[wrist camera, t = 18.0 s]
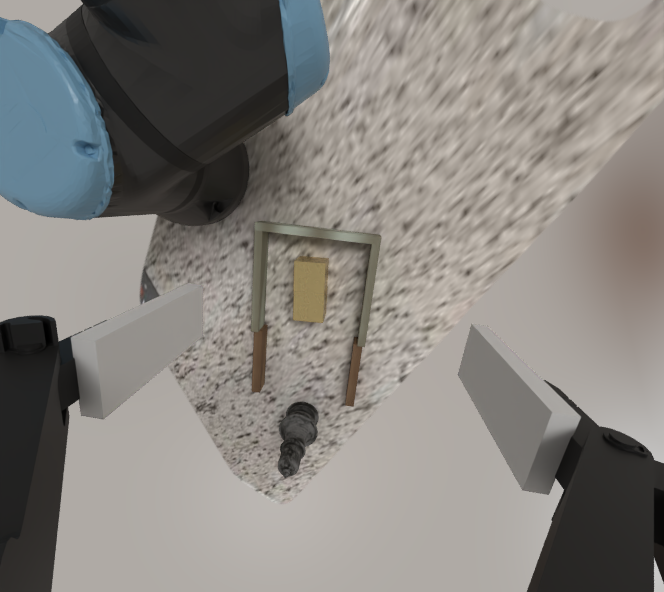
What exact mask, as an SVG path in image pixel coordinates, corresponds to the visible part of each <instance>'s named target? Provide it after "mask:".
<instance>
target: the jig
mask: <svg viewBox="0 0 664 592" xmlns="http://www.w3.org/2000/svg"><path fill="white" fill-rule="evenodd" d="M269 232H273V233H282V234H290V235H298V236H307V237H315V238H324V239H332V240H340V241H349V242H357V243H365V244H371V248H370V255H369V262H368V269H367V276H366V283H365V290H364V297H363V304H362V311H361V318H360V325H359V332H358V337H354V343H353V350H352V357H351V364H350V372H349V379H348V386H347V393H346V404H345V405H346V406H354V399H355V393H356V386H357V379H358V372H359V366H360V359H361V352H362V347H365V342H366V335H367V329H368V322H369V316H370V309H371V302H372V296H373V289H374V283H375V276H376V269H377V263H378V256H379V250H380V243H381V236H380V235H377V234H368V233H360V232H351V231H343V230H334V229H326V228H317V227H309V226H300V225H292V224H283V223H275V222H266V221H259V222H255V233H254V261H253V288H252V316H251V331H252V332H254V348H253V373H252V392H259V393H260V391H261V389H262V387H263V385H264V383H265V364H266V345H267V325H264V319H265V299H266V279H267V258H268V238H269Z"/></svg>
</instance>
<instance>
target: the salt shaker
mask: <svg viewBox="0 0 664 592" xmlns="http://www.w3.org/2000/svg"><path fill="white" fill-rule="evenodd" d="M318 418H319V416H318V412H317V410H316V409H315V408H314V407H313V406H312V405H311V404H308V403H306V402H297V403H294V404H292V405H291V406H290V407H289V408H288V410H287V412H286V417H285V418H284V419H283V420H282V421H281V423H280V426H279V432H280V435H281V437H282V439H283V440H284V442H283V443H282V444H281V447H280V451H281V456H280V459H279V462H278V469H279V471H280V473H281V474H282V475H283V476H284V477H285V478H286V477H288V476H293V475H294V474H296V473H297V471H298V469H299V465H300V461H301V459H302V458H303V457H304V455H305V451H306V450H305V447H306V446H309V445H310V444H312V443H313V442H314V441H315V440H316V437H317V433H318V431H317V427H316V424H317V422H318Z"/></svg>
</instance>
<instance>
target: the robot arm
mask: <svg viewBox="0 0 664 592" xmlns="http://www.w3.org/2000/svg"><path fill="white" fill-rule="evenodd" d="M81 1H82V2H83V5H81V6H80V7H79V8H78V9H77V10H76V11H75V12H73V13H72V14H71V15H70V16H69V17H68V18H67V19H65V20H64V21H63V22H62V23H61V24H60V25H58V26H57V27H56V28H55V29H54V30H53V31H51V32H50V33H46V32H44V31H43V30H41V29H39V28H38V27H36V26H34V25H32V24H30V23H28V22H25V21H21V20H7V19H4V18H1V17H0V195H1V196H2V197H4V198H5V199H7V200H8V201H9V202H11V203H13V204H14V205H16V206H18V207H20V208H22V209H24V210H28V211H30V212H33V213H35V214H37V215H42V216H47V217H54V218H56V217H57V218H69V219H76V220H87V219H89V220H90V219H92V218H99V217H114V216H130V215H146V214H156V215H159V216H161V217H163V218H165V219H167V220H169V221H171V222H174V223H177V224H181V225H188V226H198V225H206V224H211V223H215V222H218V221H220V220H222V219H224V218H225V217H227V216H228V215H229V214H231V213H232V212H233V211H234V210H235V209H236V207H237V206H238V205H239V203H240V202H241V200H242V198H243V196H244V194H245V191H246V188H247V184H248V178H249V162H248V156H247V152H246V148H245V145H244V143H243V142H244V141H245V140H247V139H248V138H250V137H252V136H253V135H255V134H256V133H258V132H259V131H261V130H262V129H264V128H265V127H267V126H268V125H270V124H271V123H273V122H275V121H276V120H278V119H279V118H281V117H282V116H284V115H285V116H289V115H290V114H291V113H292V112H293V110H294V108H295V107H297V106H298V105H299V104H301V103H302V102H303V101H305V100H306V99H308V98H309V97H310V96H312V95H313V94H314V93H316V92H317V91H318V90H320V88H321V87H322V86H323V85H324V83H325V81H326V79H327V76H328V73H329V64H330V52H329V43H328V36H327V31H326V26H325V21H324V16H323V11H322V7H321V3H320V0H81ZM202 336H203V285H199V284H192V283H187V284H185V285H183V286H181V287H178V288H176V289H174V290H172V291H170V292H168V293H165V294H163V295H161V296H159V297H157V298H155V299H152V300H150V301H148V302H146V303H144V304H141V305H139V306H137V307H135V308H133V309H131V310H128V311H126V312H124V313H122V314H120V315H118V316H115V317H113V318H111V319H109V320H105V321H103V322H101V323H99V324H97V325H95V326H94V327H90V328H88V329H86V330H84V331H81V332H79V333H77V334H75V335H73V336H70V337H68V338H66V339H64V340H62V341H58V334H57V328H56V321H55V319H54V318H52V317H49V316H24V317H17V318H13V319H8V320H5V321H3V322H0V592H51V589H52V579H53V569H54V560H55V550H56V541H57V530H58V521H59V511H60V502H61V492H62V482H63V472H64V464H65V454H66V445H67V435H68V425H69V411H68V406H70V405H71V404H73V403H74V402H76V401H77V400H79V404H80V412H81V416H87V417H93V418H99V419H105V418H106V417H107V416H108V415H109V414H111V413H112V412H113V411H114V410H115V409H116V408H118V407H119V406H120V405H121V404H122V403H124V402H125V401H126V400H127V399H128V398H130V397H131V396H132V395H133V394H134V393H136V392H137V391H138V390H139V389H140V388H141V387H143V386H144V385H145V384H146V383H148V382H149V381H150V380H151V379H152V378H154V377H155V376H156V375H157V374H158V373H160V372H161V371H162V370H163V369H164V368H165V367H167V366H168V365H169V364H170V363H171V362H173V361H174V360H175V359H176V358H177V357H179V356H180V355H181V354H182V353H183V352H185V351H186V350H187V349H188V348H189V347H191V346H192V345H193V344H194V343H195V342H197V341H198V340H199V339H200V338H201V337H202ZM458 376H459V378H460V379H461V381H462V383H463V385H464V387H465V388H466V390H467V392H468V394H469V395H470V397H471V399H472V401H473V402H474V404H475V406H476V408H477V410H478V412H479V413H480V415H481V417H482V419H483V420H484V422H485V424H486V426H487V428H488V429H489V431H490V433H491V435H492V437H493V438H494V440H495V442H496V444H497V445H498V447H499V449H500V451H501V453H502V455H503V456H504V458H505V460H506V462H507V464H508V465H509V467H510V469H511V471H512V473H513V474H514V476H515V478H516V480H517V481H518V483H519V485H520V487H521V489H522V490H524V491H529V492H536V493H542V494H547V495H548V494H549V493H550V490H551V488H552V486H553V483H554V481H555V479H557V480H558V482H559V483H560V485H561V486H562V487H563V489H564V492H563V494H562V497H561V499H560V501H559V503H558V506H557V508H556V510H555V513H554V515H553V517H552V524H551V526H550V529H549V532H548V535H547V538H546V540H545V543H544V546H543V548H542V551H541V554H540V557H539V559H538V562H537V565H536V568H535V571H534V573H533V576H532V579H531V582H530V584H529V587H528V590H527V592H654V558H655V561H656V563H657V566H658V569H659V572H660V574H661V577H662V580H663V582H664V463H661V462H658V461H655V460H654V458H653V456H652V453H651V452H650V451H649V450H648V449H647V448H646V447H645V446H644V445H642V444H641V443H639V442H638V441H636V440H635V439H633V438H631V437H629V436H627V435H625V434H623V433H621V432H618V431H616V430H613V429H610V428H606V427H599V426H598V425H597V424H596V423H595V422H594V421H593V420H592V419H591V418H589V416H587V415H586V414H585V413H584V412H583V411H582V410H581V409H580V408H579V407H577V405H576V404H575V403H574V402H573V401H572V400H570V399H569V398H568V397H567V396H566V395H565V394H564V393H563V392H562V391H561V390H560V389H559V388H557V387H555V386H554V385H552V384H550V383H549V382H547V381H546V380H543V379H542V378H541V377H540V376H539V375H538V374H537V373H536V372H534V371H533V369H531V368H530V367H529V366H528V365H527V364H526V363H525V362H524V361H523V360H522V359H521V358H520V357H519V356H518V355H517V354H516V353H515V352H514V351H513V350H512V349H511V348H510V347H509V346H508V345H507V344H506V343H505V342H503V340H502V339H501V338H500V337H499V336H498V335H497V334H496V333H495V332H494V331H493V330H491V329H490V328H489V327H488V326H484V325H476V324H471V328H470V332H469V335H468V339H467V343H466V346H465V350H464V354H463V358H462V361H461V365H460V369H459V372H458Z"/></svg>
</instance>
